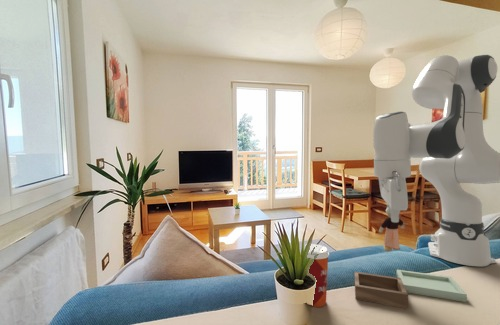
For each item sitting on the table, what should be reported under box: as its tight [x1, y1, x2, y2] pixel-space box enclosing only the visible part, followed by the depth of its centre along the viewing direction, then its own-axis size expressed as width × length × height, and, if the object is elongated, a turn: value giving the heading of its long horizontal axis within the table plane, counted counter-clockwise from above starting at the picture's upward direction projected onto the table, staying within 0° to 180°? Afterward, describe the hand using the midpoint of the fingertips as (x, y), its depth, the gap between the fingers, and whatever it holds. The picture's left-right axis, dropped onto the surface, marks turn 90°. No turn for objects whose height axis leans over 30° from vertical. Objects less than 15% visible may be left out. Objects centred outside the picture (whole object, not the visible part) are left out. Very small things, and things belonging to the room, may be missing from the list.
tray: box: [396, 269, 468, 303], centre depth 69 cm, size 10×14×2 cm
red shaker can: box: [304, 243, 330, 308], centre depth 64 cm, size 8×8×14 cm
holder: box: [354, 271, 409, 310], centre depth 66 cm, size 9×12×4 cm
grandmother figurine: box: [378, 206, 406, 252], centre depth 67 cm, size 8×4×13 cm, turn 107°
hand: (393, 219), depth 67 cm, fingers closed on grandmother figurine, 3 cm apart
